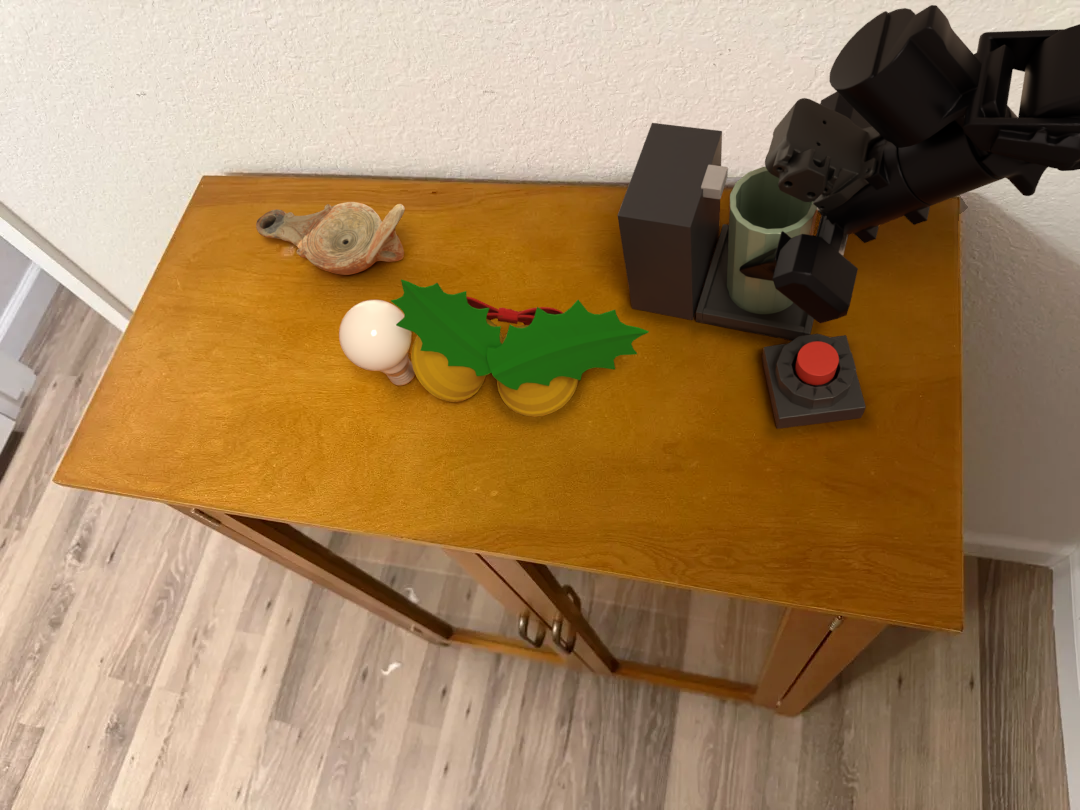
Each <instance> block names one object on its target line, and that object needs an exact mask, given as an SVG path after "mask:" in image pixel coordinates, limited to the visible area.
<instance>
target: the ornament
mask: <svg viewBox="0 0 1080 810" xmlns="http://www.w3.org/2000/svg"><path fill="white" fill-rule="evenodd" d="M400 282H401V286H402V287H401V288H402V291H403V294H402V296H399V297H397V298H395V299H391V300H390V303H391V304H393V305H395V306H396V307H397V308H399V309H400V310H401V311H402V312H403V313H404V318H403V319H402V320H401V321H399V322H398V323H397V324H396V326H399V327H401V328H404V329H407V330H409V331H411V333H414V334H415V335H416V337H415V338H414V342H413V344H412V347H411V353H410V358H411V360H410V361H411V362H412V366H413V370H414V372H415V377H416V378H417V380H418V381H419V383H420V384H421V386H422V387H423V388H424V389H425V390H426V391H427V392H428V393H429V394H431V395H433V396H434V397H435V398H436V399H437V398H438V399H440V400H442V401H446V402H450V403H458V402H459V403H460V402H464V401H465V400H469V399H470V398H472V397H473V396H475V394H476V393H478V392H479V390H480V389H481V387H482V386H483V384H484V382H485V379H486V377H487V376H488V375H491V374H492V377H493V378H494V379H495V380H496V386H497V391H498V393H499V396H500V398H501V400H502V402H503V403H504V405H506V406H507V408H509V410H511V411H513V412H514V413H516V414H518V415H521V416H524V417H525V416H526V417H535V418H536V417H543V416H547V415H551V414H552V413H555V412H557V411H558V410H560V409H562V408H563V407H564V406H565V405H567V404H568V402H570V400H571V399H572V397H573V395H574V394H575V392H576V390H577V387H578V383H579V381H581V380H582V376H583V374H584V373H586V371H588V370H591V369H596V368H598V369H607V370H608V369H609V370H616V365H615V359H616V358H617V357H620V356H631V355H633V356H634V355H638V352H637V351H636V350H635V348H634V346H633V342H634V341H636V340H637V339H639V338H641V337H642V336H644V335H647V334H649V333H650V332H649V330H647V329H644V328H641V327H639V326H633V325H628V324H626V323H623V322H622V321H621V320H620V318H619V317H618V315H617V310H616V309H612V310H608V311H606V312H602V313H592V312H590V311H588V310H587V308H586V307H585V306H584V304H583V303H582V302H581V301H580V300H579V299H577V300H576V301H575V302H574V303H573V304H572V305H571V306H570V307H569V308H568V309H567V310H565V311H562V310H559V309H557V308H554V307H549V306H537V307H531V308H527V309H524V310H519V311H518V310H514V309H511V308H505V307H499V308H497V307H494V306H492V305H490V304H488V303H486V302H484V301H481V300H480V299H476V298H475V297H474V298H473V297H472V296H467V295H468V294H467V290H464V291H462V292H458V293H454V294H452V293H448V292H445V291H444V290H443V288H442V287H441V286H440V284H439V283H438V282H435V283H434V284H432V285H428V286H419V285H417V284H415V283H412V282H410V281H408V280H405V279H400ZM493 320H497V322H500V323H508V324H509V325H508V330H507V333H505V335H504V336H503V334H502V332H501V329H502V326H501V325H497V324H496V323H494V321H493ZM519 323H522V324H520V325H517V324H519ZM512 324H514V325H517V326H514V325H512Z"/></svg>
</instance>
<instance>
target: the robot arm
mask: <svg viewBox="0 0 1080 810" xmlns="http://www.w3.org/2000/svg"><path fill="white" fill-rule="evenodd" d="M1013 70H1015V71H1020V72H1023V73H1024V76H1023V82H1022V90H1021V97H1020V103H1019V110H1018V116H1017V114H1016V113H1015V112H1014V111H1013V110H1012V108H1011V107H1010V106H1009V105H1008V102H1009V96H1010V89H1011V84H1012V77H1013ZM829 83H830V86H831V87H832V88H833V89H834V91H835V92H833V93H831V94H830V95H828V96H826V97H825V98H823V99H821V100H820V103H819V102H817V101H814V100H812V99H810V98H807V97H803V98H799V99H797V101H795V103H794V104H793V105H792V107H791V108H790V109H789V110H788V112H787V113H786V114H785V115H784V116H783V118H782V119H781V120H780V122H779V123H778V124H777V125H776V126H775V127H774V130H773V132H772V138H771V141H770V145H769V148H768V152H767V154H766V156H765V159H764V167H765V166H766V169H767V170H768V172H769V173H770V174H772V175H773V176H775V177H777V178H779V183H778V187H779V189H780V190H781V191H782V192H784V193H786V194H788V195H791V196H793V197H795V198H797V199H799V200H801V201H803V202H813V204H814V205H815V206H816V207H817V213H819V215H820V219H819V223H818V226H817V230H816V234H815V235H814V234H813V235H807V234H800V235H798V236H795V237H793V238H791V237H789V236H788V235H787V234H786V233H785V232H784V231H782V232H781V234H780V238H779V241H778V245H777V248H775V249H773V250H770V251H768V252H766V253H764V254H762V255H760V256H758V257H756V258H754V259H752V260H750V261H748V262H747V263H745V264H744V265H742V266H741V267H740V269H739V271H740V272H741V273H742V274H744V275H745V276H747V277H751V278H757V279H763V280H769V281H773V282H774V285H775V288H776V289H777V290H778V291H779V292H781V293H782V294H783V295H784V296H786V297H787V298H788V299H789V300H791V301H792V302H793V303H795V304H796V305H797V306H798V307H800V308H801V309H802V310H803V311H805V312H806V313H807V314H809V315H810V316H811V317H812V318H814V320H815V321H816V322H818V324H824V323H827V322H830V321H835V320H838V319H841V318H843V317H846V316H848V312H849V310H850V306H851V301H852V297H853V292H854V288H855V284H856V279H857V275H858V271H859V268H858V267H857V266H855V265H854V264H853V263H852V262H851V261H850V260H848V259H847V258H846V257H845V256H844V254H845V251H846V247H847V241H848V238H849V236H850V235H854V236H856V237H857V238H858V239H859V240H860V241H861V242H862V243H863V244H866V243H869V242H872V241H874V240H876V239H877V236H878V231H879V227H880V226H882V225H884V224H886V223H890V222H892V221H895V220H897V219H901V218H903V217H905V218H906V219H907V220H908V221H909V222H910V223H911V224H912V225H913V226H915V225H919V224H921V223H924V222H927V221H928V217H929V213H930V208H931V207H932V206H935V205H937V204H940V203H942V202H945V201H947V200H950V199H953V198H956V197H958V196H961V195H963V194H966V193H969V192H971V191H974V190H976V189H977V190H978V189H980V188H983V187H984V186H987V185H990V184H993V183H995V182H998V181H1001V180H1004V179H1007V180H1008V181H1009V182H1010V183H1011V184H1012V185H1013V186H1014V188H1016V189H1017V191H1018V192H1019V193H1020V194H1021V195H1022V196H1025V197H1030V196H1033V195H1034V194H1035V193H1036V190H1037V187H1038V185H1039V183H1040V181H1041V178H1042V176H1043V174H1044V173H1045V171H1046V170H1047V169H1048V168H1051V169H1057V170H1058V171H1060V172H1070V171H1072V172H1073V171H1078V170H1080V23H1078V24H1076V25H1073V26H1069V27H1067V28H1061V29H1035V30H1034V29H1033V30H1032V29H1031V30H1008V31H1007V30H1006V31H1005V30H1004V31H986V32H983V33H982V34H980V35H979V38H978V42H977V49H976V52H975V53H973V52H972V50H971V49H969V47H968V46H967V45H966V44H965V43H964V41H963V40H962V39H961V38H960V37H959V36H958V35H957V33H956V32H955V31H954V29H953V28H952V25H951V23H950V21H949V19H948V18H947V16H946V15H945V13H944V12H943V11H942V10H941V8H940V7H939V6H938V5H937V4H936V5H935V4H931V5H929V6H927V7H925V8H923V10H920V11H919V12H917V13H915V12H914V11H913V10H912V9H910V8H906V7H903V8H902V7H901V8H897V9H894V10H892V11H889V12H888V11H887V10H885V11H882V12H881V13H879V14H878V15H876V16H874V18H872V19H871V20H869V21H868V22H867V23H865V24H864V25H863V26H862V27H861V28H860V29H858V30H857V31H856V32H855V33H854V34H853V36H851V38H850V39H849V40H848V41H847V42H846V44H845V45H843V47H842V49H841V50H840V52H839V53H838V55H837V57H835V60H834V61H833V64H832V66H831V68H830V71H829Z"/></svg>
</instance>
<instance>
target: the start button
mask: <svg viewBox="0 0 1080 810" xmlns="http://www.w3.org/2000/svg"><path fill="white" fill-rule="evenodd" d="M838 363H839V356H838V353H837V351H836V350H835V349H834V348H833V347H832V346H831V345H829V344H827V343H825V342H819V341H816V342H810V343H808V344H806V345H804V346H803V347H802V348H801V349H800V351H799V353H798V356H797V361H796V365H795V369H796V373H797V375H798V377H799V378H800V379H801V380H802V381H804V382H805V383H808V384H811V385H822V384H825V383H827V382H829V381H830V380H831V379H832V378H833V377H834V375H835V372H836V369H837V366H838Z"/></svg>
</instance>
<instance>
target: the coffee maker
mask: <svg viewBox="0 0 1080 810" xmlns="http://www.w3.org/2000/svg"><path fill="white" fill-rule="evenodd" d="M722 141H723V131H722V130H719V129H718V130H717V129H708V128H700V127H691V126H683V125H675V124H666V123H657V122H651V124H650V127H649V130H648V132H647V135H646V138H645V140H644V143H643V146H642V148H641V152H640V154H639V156H638V159H637V162H636V164H635V167H634V170H633V173H632V176H631V178H630V181H629V182H628V183H629V184H628V186H627V189H626V191H625V194H624V197H623V199H622V203H621V204H620V208H619V210H618V213H617V222H618V228H619V235H620V240H621V248H622V254H623V260H624V267H625V272H626V279H627V285H628V292H629V299H630V305H631V309H632V310H637V311H644V312H649V313H653V314H659V315H664V316H669V317H673V318H679V319H683V320H684V319H685V320H688V321H689V320H690V321H694V319H695V322H696V323H701V324H705V325H711V326H715V327H720V328H725V329H731V330H736V331H741V332H746V333H752V334H755V335H756V334H757V335H761V336H766V337H771V338H777V339H782V340H787V341H793V340H794V339H796V338H797V337H798V336H805V335H811V333H812V329H813V324H814V320H815V319H814V318H812V317H811V316H810V315H809V314H807V313H806V312H805V311H803V310H802V309H801V308H800V307H798V306H797V305H796V304H795V303H793V304H792V305H791V306H789V307H788V308H786V309H784V310H782V311H780V312H777V313H773V314H755V313H751V312H748V311H745V310H744V309H742V308H740V307H739V306H737V305H736V304H735V303H734V302H733V300H732V299H731V298H730V296H729V294H728V291H727V253H728V228H729V224H725V223H723V224H722V226H721V229H720V224H721V223H720V221H721V200H722V197H723V192H724V189H725V186H726V183H727V181H728V176H729V175H728V174H729V173H728V172H729V168H728V166H722V154H723V153H722V151H723V149H722V148H723V146H722V145H723V142H722Z"/></svg>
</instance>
